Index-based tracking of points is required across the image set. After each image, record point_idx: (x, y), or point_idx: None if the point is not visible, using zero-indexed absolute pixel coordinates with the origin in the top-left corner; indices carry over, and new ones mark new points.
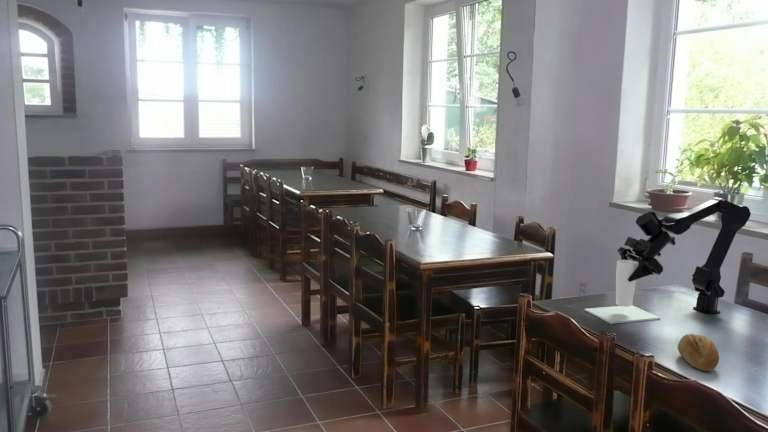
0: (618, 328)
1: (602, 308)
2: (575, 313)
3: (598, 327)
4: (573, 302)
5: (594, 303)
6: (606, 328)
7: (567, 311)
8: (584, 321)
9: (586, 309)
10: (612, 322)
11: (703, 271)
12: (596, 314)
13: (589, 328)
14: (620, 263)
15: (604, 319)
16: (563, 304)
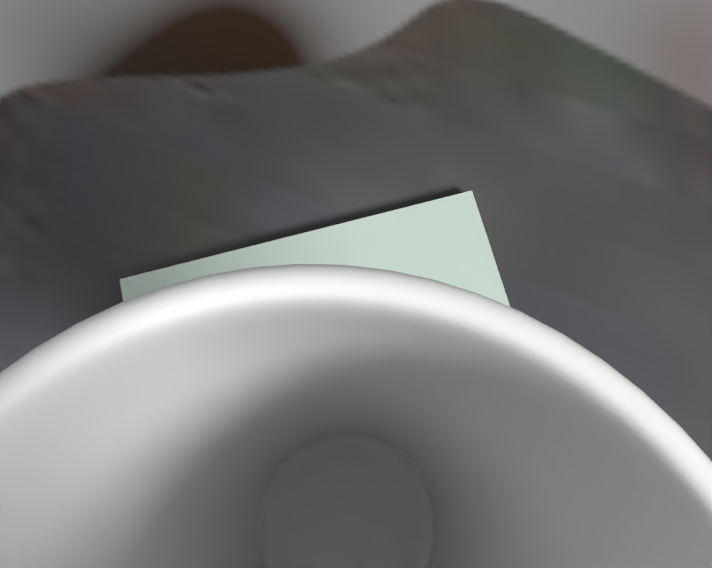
0: (16, 301)
1: None
2: (386, 99)
3: (56, 154)
4: (701, 184)
5: (707, 373)
6: (28, 205)
7: (434, 56)
8: (194, 101)
9: (453, 199)
10: (123, 296)
11: None
12: (316, 234)
13: (42, 83)
14: (134, 305)
15: (203, 260)
16: (624, 82)
